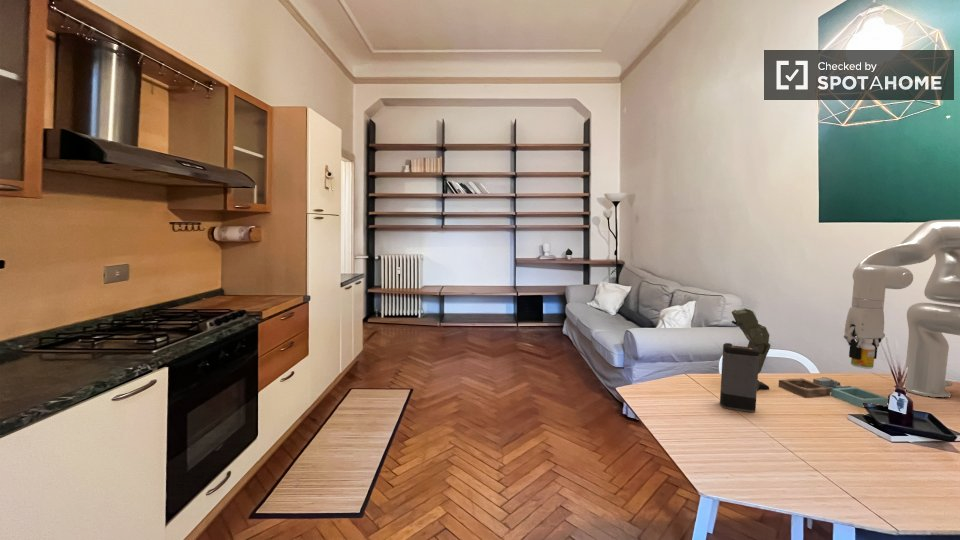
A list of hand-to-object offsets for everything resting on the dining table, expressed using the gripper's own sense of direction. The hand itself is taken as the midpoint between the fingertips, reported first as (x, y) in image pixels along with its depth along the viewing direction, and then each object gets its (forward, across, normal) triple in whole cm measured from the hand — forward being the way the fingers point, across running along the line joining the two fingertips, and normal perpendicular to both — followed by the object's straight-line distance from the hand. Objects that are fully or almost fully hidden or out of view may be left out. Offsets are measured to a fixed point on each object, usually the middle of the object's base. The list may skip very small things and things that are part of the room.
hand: (862, 357), depth 131 cm
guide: (+15, -1, -10) cm, 18 cm away
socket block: (+15, +10, -10) cm, 21 cm away
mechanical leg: (+15, +26, -17) cm, 35 cm away
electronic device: (+15, +44, -2) cm, 47 cm away
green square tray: (+15, 0, 0) cm, 15 cm away
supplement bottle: (+3, 0, 0) cm, 3 cm away
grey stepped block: (+15, +2, -10) cm, 18 cm away
